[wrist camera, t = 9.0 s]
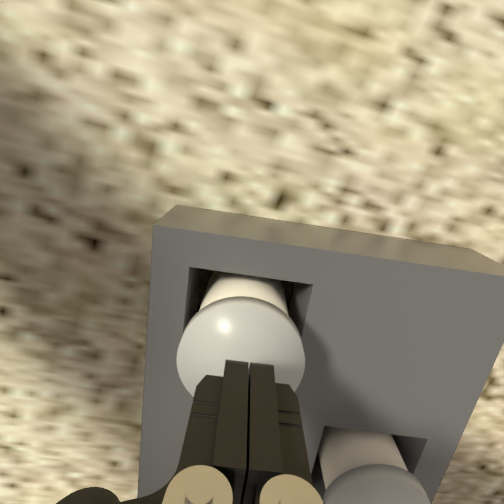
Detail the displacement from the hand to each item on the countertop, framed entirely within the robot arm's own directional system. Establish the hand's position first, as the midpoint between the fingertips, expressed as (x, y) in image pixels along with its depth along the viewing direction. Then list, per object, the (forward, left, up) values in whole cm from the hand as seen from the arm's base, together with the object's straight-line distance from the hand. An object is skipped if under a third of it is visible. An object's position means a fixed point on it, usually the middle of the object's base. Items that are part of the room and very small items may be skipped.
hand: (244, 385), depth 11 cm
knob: (0, 0, -7) cm, 7 cm away
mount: (+7, +3, -8) cm, 11 cm away
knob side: (+7, +7, -7) cm, 13 cm away
